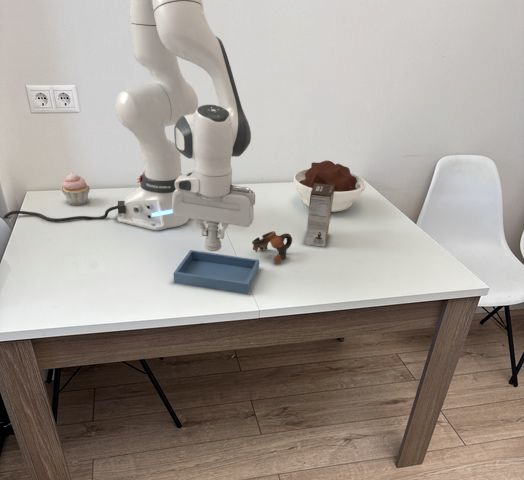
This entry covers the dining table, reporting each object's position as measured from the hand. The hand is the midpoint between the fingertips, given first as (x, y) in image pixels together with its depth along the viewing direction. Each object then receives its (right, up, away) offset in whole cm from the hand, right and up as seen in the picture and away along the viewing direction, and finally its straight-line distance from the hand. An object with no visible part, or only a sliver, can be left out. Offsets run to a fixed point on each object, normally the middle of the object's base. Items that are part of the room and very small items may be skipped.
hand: (212, 236), depth 124 cm
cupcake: (-50, +21, +41) cm, 68 cm away
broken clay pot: (+16, -2, +17) cm, 23 cm away
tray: (+1, -9, +6) cm, 11 cm away
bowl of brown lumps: (+35, +22, +50) cm, 65 cm away
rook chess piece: (0, -3, +2) cm, 3 cm away
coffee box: (+29, +5, +28) cm, 41 cm away
